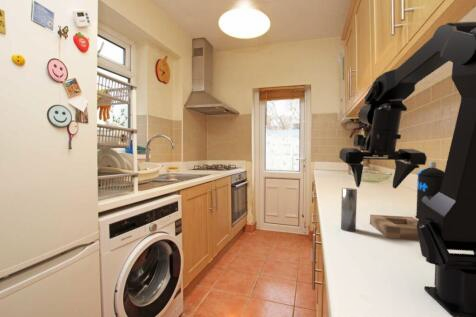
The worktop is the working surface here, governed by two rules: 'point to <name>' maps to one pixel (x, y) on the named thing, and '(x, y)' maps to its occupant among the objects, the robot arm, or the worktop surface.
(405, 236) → the wooden square frame
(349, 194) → the metal pin
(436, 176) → the aerosol can
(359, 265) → the worktop surface
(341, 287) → the worktop surface
